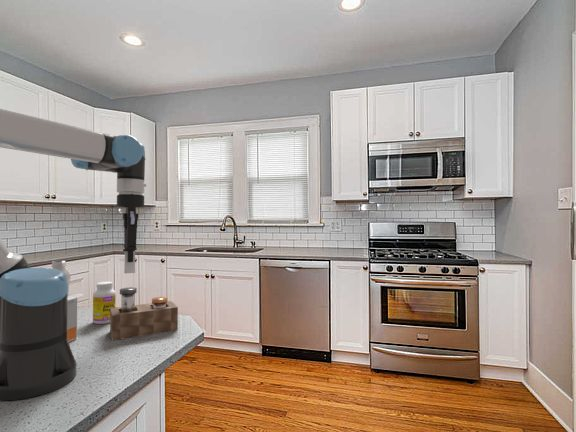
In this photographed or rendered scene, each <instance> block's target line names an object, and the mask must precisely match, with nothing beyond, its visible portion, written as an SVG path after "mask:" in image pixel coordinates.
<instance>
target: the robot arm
mask: <svg viewBox="0 0 576 432" xmlns="http://www.w3.org/2000/svg"><path fill="white" fill-rule="evenodd" d="M0 148H3V149H8V150H9V149H10V150H15V151H19V152H20V151H21V152H26V153H27V152H28V153H32V154H38V155H46V156H51V157H56V158H63V159H70V161H71V164H72V165H73V167H75V168H76V169H81V170H85V171H88V170H89V171H98V172H99V171H100V172H107V173H115V174H116V192H117V193H118V194H117V195H116V207H117V208H125V212H124V213H122V219H123V230H124V231H123V237H124V238H123V240H124V242H123V243H124V244H123V247H124V248H123V249H122V252H124V272H123V273H124V274H134V273H136V251H137V250H138V249H137V237H138V235H137V231H138V221H139V213H137V208H144V207H145V195H143V194H144V193H145V188H146V187H147V184H146V183H145V178H146V177H145V176H146V175H145V167H146V151H145V146H144V144H142V143H140V141H139V140H138V139H137V138H136V137H134V136H132V135H128V134H120V135H118V136H117V135H112V134H108V133H103V132H99V131H95V130H91V129H86V128H83V127H77V126H74V125H70V124H65V123H62V122H57V121H53V120H50V119H44V118H40V117H36V116H33V115H29V114H24V113H20V112H15V111H12V110H7V109H3V108H0ZM68 297H69V292H68V284H67V277H66V275H65V274H64V273H63V272H62V271H59V270H56V269H53V268H47V267H31V266H30V265H29V263H28V261H27V260H26V259H25V257H24V256H23V254H19V253H14V252H11V251H10V250H9V248H8V247H7V246H6V244H5V243H4V242H3V240H2V239H1V238H0V401H16V400H24V399H29V398H34V397H38V396H40V395H45V394H47V393H50V392H53V391H55V390H57V389H60V388H62V387H64V386H65V385H67V384H68V383H70V382H71V381H73V380H74V379H75V377H76V376H77V362H76V359H75V356H74V353H73V352H72V349H71V346H70V344H69V342H68V341H67V298H68Z"/></svg>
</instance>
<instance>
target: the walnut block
mask: <svg viewBox="0 0 576 432" xmlns="http://www.w3.org/2000/svg"><path fill="white" fill-rule="evenodd" d="M153 306H154V304H152V302H151V303H143V304H136V305H135V311H131V312H124V313H121V311H122V306H117V307H115V308H110V323H109V332H111V333H110V337H111V340H112V341H117V340H118V339H119V340H122V339H123V340H125V339H129V338H135V337H136V338H137V337H143V336H149V335H155V334H160V333H168V332H174V331H177V330H178V329H179V328H178V327H179V324H178V322H179V321H178V319H179V317H178V316H179V314H178V313H179V309H178V306H177V305H176V304H175V303H174V301H172V300H167V303H166V307H163V308H155V309H153Z"/></svg>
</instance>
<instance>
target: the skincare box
mask: <svg viewBox="0 0 576 432" xmlns="http://www.w3.org/2000/svg"><path fill="white" fill-rule="evenodd" d="M77 333H78V297H74V296H68V298H67V341H68V343H70V342H73V341H77V335H78V334H77Z"/></svg>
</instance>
